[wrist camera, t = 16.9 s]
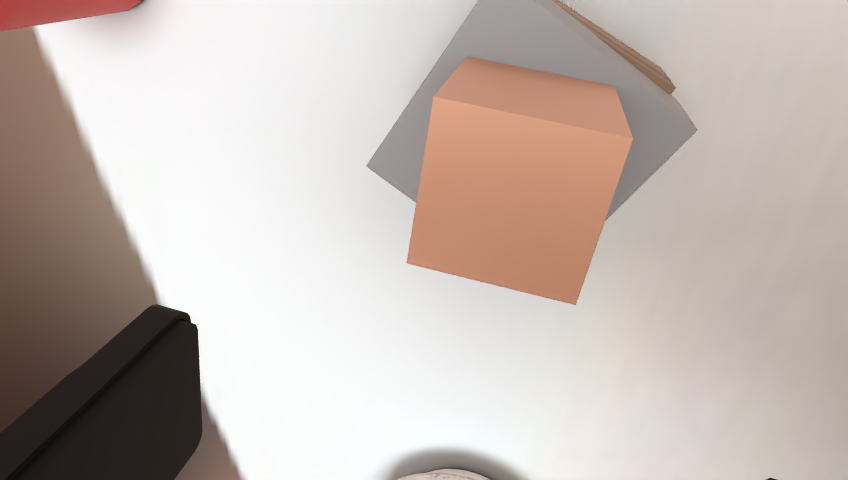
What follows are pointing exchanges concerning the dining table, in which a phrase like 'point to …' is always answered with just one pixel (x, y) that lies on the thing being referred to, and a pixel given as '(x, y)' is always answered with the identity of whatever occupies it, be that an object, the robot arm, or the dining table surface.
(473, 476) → the paper bowls
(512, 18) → the slate slab
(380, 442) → the dining table surface
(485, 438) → the dining table surface
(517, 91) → the terracotta block
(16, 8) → the beer can
